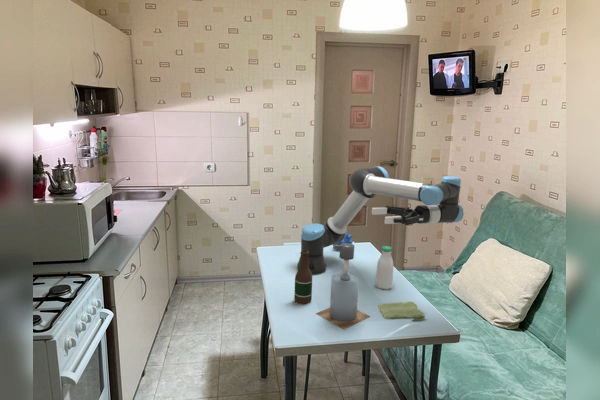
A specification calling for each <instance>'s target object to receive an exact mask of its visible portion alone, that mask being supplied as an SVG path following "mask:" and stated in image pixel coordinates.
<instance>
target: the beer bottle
mask: <svg viewBox="0 0 600 400" xmlns="http://www.w3.org/2000/svg"><path fill="white" fill-rule="evenodd" d="M308 254H309V251H307V250H302V251H301V250H300V256H301V260H300V268H299V269H297V271H296V273H295V278H294V297H293V299H294V300H293V301H294V303H297V304H299V305H307V304H310V303H311V302H312V297H313V296H312V295H313V274H312V273H311V271H310V269H309V265H308Z"/></svg>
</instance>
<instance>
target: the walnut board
mask: <svg viewBox="0 0 600 400" xmlns="http://www.w3.org/2000/svg"><path fill="white" fill-rule="evenodd" d="M315 315H317V316H319V317H321V318H322V319H325V320H326V321H328V322H330V323H331V324H333V325H335V326H337V327H339V328H341V329H343V330H346V329H349V328H351V327H353V326H355V325H357V324H358V323H361V322H363V321H365V320H366V319H369V318H371V316H370V315H368V314H367V313H365V312H363V311H361V310H359V309H357V316H356V319H355V320H353V321H349V322H341V321H337V320H334V319H333V318H331V317H330V306H329V307H327V308H325V309H323V310H320V311H318V312H316V313H315Z"/></svg>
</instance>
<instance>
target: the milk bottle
mask: <svg viewBox="0 0 600 400" xmlns="http://www.w3.org/2000/svg"><path fill="white" fill-rule="evenodd" d="M392 250H393V248H392V247H391V246H388V245H382V246H381V254H380V257H379V258H378V260H377V265H376V276H375V286H376V287H377V289H381V290H390V289H392V287H393V278H394V260H393V257H392Z"/></svg>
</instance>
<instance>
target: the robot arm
mask: <svg viewBox="0 0 600 400" xmlns="http://www.w3.org/2000/svg"><path fill="white" fill-rule="evenodd" d="M348 181H349V183H348V184H349V187H350V188H351V190H352V192H351V193H350V194H349V195H348V197H347V198H346V199H345V201H344V202H343V204H342V205H341V206H340V207H339V209H338V210H337V212H336V213H335V214H334V215H333V216H330V217H328V219H327V220H326V221H325V222H324V224H321V223H310V224H306V225H304V226H303V227H302V229H301V234H300V237H301V238H300V239H301V242H300V252H301V251H302V250H307V251H309V254H308V265H309V269H310V271H311V273H312V275H321V274H323V273H326V270H327V264H326V261H325V260H326V259H325V257H324V248H326V247H329V246H333V245H334V244H338V243H340V242H341V241H343V240H344V238H345V237H346V232H348V231H347V230H348V228H347V227H348V225H350V223H351V222H352V221H353V219H354V218H355V217H356V216H357V214H358V213H359V212H360V210H362V208H363V207H364V206H365V204H366V203H367V202H368V200H369V199H370V200H371V199H374V198H375V197H376V196H377V195H381V196H387V197H393V198H397V199H398V198H399V199H403V200H409V201H415V202H422V204H423V205H421V204H419V205H417V206H415V208H414V209H413V208H410V207H399V206H389V205H386V206H385V207H371V215H374V216H375V215H385V217H384V224H385V225H393V224H394V225H396V224H397V225H398V224H402V225H405V226H410V225H413V224H419V225H420V224H430V225H433V224H437V223H439V224H440V223H441V224H444V223H445V224H449V223H450V224H452V223H459V222H461V221H462V220H463V219H464V215H465V213H464V208H463V207H462V205H460V204H459V200H460V193H461V186H462V185H461V182H462V180H461V178H460V177H459V176H458V177H457V176H452V175H445V176H442V179H441V182H440V183H437V184H433V183H432V184H431V183H424V182H417V181H411V180H410V181H409V180H403V179H396V178H390V176H389V173H388V171H387V170H386V169H385V168H384V167H382V166H377V165H376V166H375V165H373V166H369V167H364V168H363V167H362V168H357V169H356V170H354V171H353V172H352V173H351V175H350V176H349V180H348ZM388 214H389V215H393V216H387V215H388ZM300 260H301V255H300V257H299V259H298V261H297V266H296V268H297V270H298V269H299V268H300Z"/></svg>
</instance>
